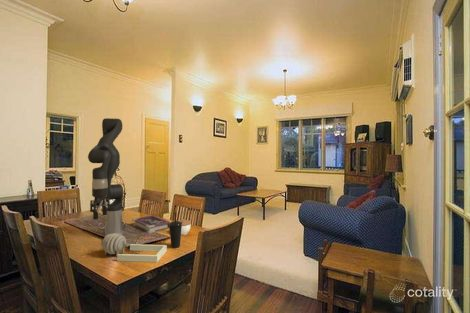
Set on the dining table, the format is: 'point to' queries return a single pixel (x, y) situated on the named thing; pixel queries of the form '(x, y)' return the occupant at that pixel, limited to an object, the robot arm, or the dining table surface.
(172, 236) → the drinking cup
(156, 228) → the book
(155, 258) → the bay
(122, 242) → the grey ridged rounded piece
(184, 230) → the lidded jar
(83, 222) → the dining table surface
